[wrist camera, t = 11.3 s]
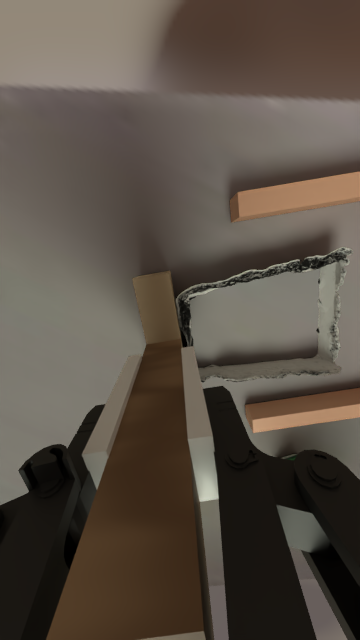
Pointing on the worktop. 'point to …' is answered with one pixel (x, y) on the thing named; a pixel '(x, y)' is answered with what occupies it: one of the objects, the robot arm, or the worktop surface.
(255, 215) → the tile bay
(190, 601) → the wooden scraper
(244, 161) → the worktop surface
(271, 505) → the robot arm
